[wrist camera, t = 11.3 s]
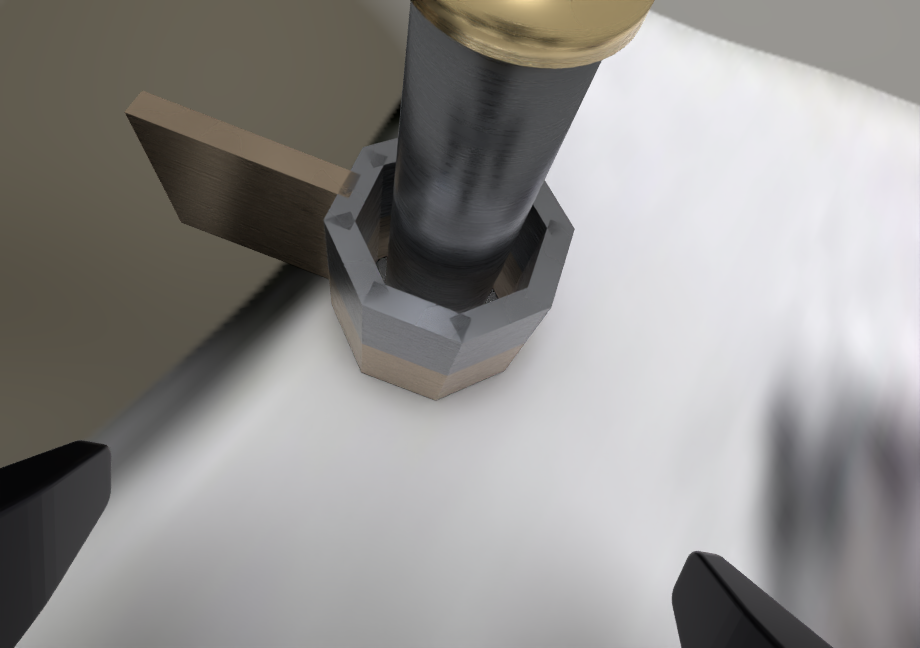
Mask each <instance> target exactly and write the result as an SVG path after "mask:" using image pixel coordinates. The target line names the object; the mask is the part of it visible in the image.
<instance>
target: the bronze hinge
mask: <svg viewBox="0 0 920 648" xmlns="http://www.w3.org/2000/svg"><path fill="white" fill-rule="evenodd" d="M125 114H126V116H127V118H128V120H129V122H130V124H131V126H132V128H133V130H134V132H135V134H136V135H137V137H138V139H139V141H140V143H141V145H142V147H143V149H144V151H145V153H146V155H147V157H148V159H149V161H150V163H151V164H152V167H153V169H154V171H155V172H156V174H157V176H158V178H159V180H160V182H161V184H162V186H163V188H164V190H165V192H166V194H167V196H168V198H169V200H170V202H171V203H172V206H173V207H174V209H175V211H176V213H177V215H178V217H179V219H180V221H181V222H182V223H184V224H187V225H189V226H192V227H195V228H197V229H200V230H202V231H205V232H208V233H210V234H213V235H216V236H218V237H221V238H224V239H226V240H229V241H231V242H234V243H237V244H239V245H242V246H244V247H247V248H250V249H252V250H255V251H257V252H260V253H263V254H265V255H268V256H270V257H273V258H276V259H278V260H281V261H283V262H286V263H289V264H291V265H294V266H297V267H299V268H302V269H304V270H307V271H310V272H312V273H315V274H317V275H320V276H323V277H325V278H328V279H329V280H330V290H331V300H332V306H333V308H334V311H335V313H336V315H337V317H338V320H339V322H340V324H341V327H342V329H343V331H344V333H345V336H346V338H347V340H348V343H349V345H350V347H351V349H352V352H353V354H354V356H355V359H356V361H357V363H358V365H359V368H360V370H361V372H362V373H365V374H367V375H370V376H373V377H375V378H378V379H381V380H383V381H386V382H388V383H391V384H394V385H396V386H399V387H402V388H404V389H407V390H409V391H412V392H415V393H417V394H420V395H423V396H425V397H428V398H430V399H433V400H438V399H440V398H443V397H445V396H447V395H450V394H452V393H454V392H457V391H459V390H461V389H463V388H466V387H468V386H470V385H473V384H475V383H477V382H480V381H482V380H484V379H487V378H489V377H491V376H494V375H496V374H498V373H500V372H503V371H505V369H506V368H507V366H508V365H509V364H510V362H511V361H512V360H513V358H514V357H515V356H516V354H517V353H518V352H519V350H520V349H521V348H522V346H523V345H524V343H525V342H526V341H527V339H528V338H529V337H530V335H531V334H532V333H533V331H534V330H535V329H536V327H537V326H538V325H539V323H540V322H541V321H542V319H543V318H544V316H545V315H546V314H547V312H548V311H549V310H550V308H551V306H552V303H553V299H554V296H555V293H556V289H557V286H558V283H559V279H560V276H561V273H562V269H563V266H564V263H565V259H566V256H567V253H568V249H569V246H570V243H571V239H572V236H573V233H574V230H575V229H574V227H573V226H572V224H571V222H570V221H569V219H568V217H567V216H566V214H565V213H564V211H563V209H562V208H561V206H560V204H559V203H558V201H557V199H556V198H555V196H554V195H553V193H552V191H551V190H550V188H549V186H548V185H547V183H546V182H545V180H544V182H543V184H542V186H541V188H540V190H539V192H538V194H537V197H536V199H535V201H534V203H533V205H532V207H531V209H530V211H529V213H528V215H527V217H526V219H525V222H524V224H523V226H522V228H521V230H520V232H519V234H518V236H517V238H516V240H515V242H514V245H513V247H512V249H511V251H510V253H509V255H508V257H507V259H506V261H505V263H504V265H503V267H502V270H501V272H500V274H499V276H498V278H497V280H496V282H495V284H494V286H493V289H494V291H495V293H496V295H497V296H498V298H499V299H497V300H494V301H491V302H489V303H486V304H484V305H481V306H479V307H476V308H473V309H471V310H468V311H466V312H463V313H457V312H455V311H452V310H449V309H447V308H444V307H442V306H439V305H436V304H434V303H431V302H429V301H426V300H423V299H421V298H418V297H415V296H413V295H410V294H408V293H405V292H402V291H400V290H397V289H395V288H392V287H389V286H387V285H385V283H384V281H383V279H382V277H381V275H380V273H379V270H378V268H377V266H376V262H377V260H378V259H380V258H383V257H386V256H387V254H388V243H389V232H390V221H391V210H392V200H393V189H394V178H395V167H396V156H397V145H398V138H396V139H392V140H389V141H385V142H381V143H377V144H374V145H370V146H366V147H363V148H362V150H361V152H360V154H359V156H358V158H357V159H356V161H355V163H354V165H353V167H352V169H351V170H347V169H344V168H342V167H339V166H336V165H334V164H331V163H329V162H326V161H324V160H321V159H319V158H316V157H313V156H311V155H308V154H305V153H303V152H300V151H298V150H295V149H292V148H290V147H287V146H285V145H282V144H280V143H277V142H274V141H272V140H269V139H267V138H264V137H261V136H259V135H256V134H254V133H251V132H248V131H246V130H243V129H241V128H238V127H235V126H233V125H230V124H228V123H225V122H222V121H220V120H217V119H215V118H212V117H210V116H207V115H204V114H202V113H199V112H196V111H194V110H191V109H189V108H186V107H184V106H181V105H178V104H176V103H173V102H171V101H168V100H165V99H163V98H160V97H158V96H155V95H152V94H150V93H147V92H145V91H141V93H140V94H139V95H138V96H137V98H136V99H135V100H134V101H133V103H132V104H131V105H130V106H129V107H128V108H127V110H126V111H125Z"/></svg>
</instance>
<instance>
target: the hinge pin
mask: <svg viewBox="0 0 920 648" xmlns="http://www.w3.org/2000/svg"><path fill="white" fill-rule="evenodd" d="M410 1H411V3H410V14H409V25H408V36H407V47H406V57H405V68H404V79H403V80H404V81H403V90H402V101H401V112H400V123H399V134H398V145H397V156H396V167H395V178H394V189H393V200H392V210H391V221H390V232H389V243H388V254H387V265H386V276H385V285H387V286H389V287H392V288H395V289H397V290H400V291H402V292H405V293H408V294H410V295H413V296H415V297H418V298H421V299H423V300H426V301H429V302H431V303H434V304H436V305H439V306H442V307H444V308H447V309H449V310H452V311H455V312H457V313H463V312H466V311H468V310H471V309H473V308H476V307H479V306H481V305H484V304H485V303H486V301H487V299H488V297H489V295H490V293H491V290H492V288H493V286H494V284H495V282H496V280H497V278H498V276H499V274H500V272H501V270H502V267H503V265H504V263H505V261H506V259H507V257H508V255H509V253H510V251H511V249H512V247H513V245H514V242H515V240H516V238H517V236H518V234H519V232H520V230H521V228H522V226H523V224H524V222H525V219H526V217H527V215H528V213H529V211H530V209H531V207H532V205H533V203H534V201H535V199H536V197H537V194H538V192H539V190H540V188H541V186H542V184H543V182H544V180H545V178H546V176H547V174H548V171H549V169H550V167H551V165H552V163H553V161H554V159H555V157H556V155H557V153H558V151H559V148H560V146H561V144H562V142H563V140H564V138H565V136H566V134H567V132H568V130H569V128H570V126H571V123H572V121H573V119H574V117H575V115H576V113H577V111H578V109H579V107H580V105H581V103H582V100H583V98H584V96H585V94H586V92H587V90H588V88H589V86H590V84H591V82H592V80H593V78H594V75H595V73H596V71H597V69H598V67H599V65H600V63H601V61H602V60H603V59H605V58H607V57H609V56H612V55H614V54H615V53H617V52H618V51H620V50H621V49H622V48H624V47H625V46H626V45H627V44H628V43H629V42H630V41H631V40H632V39H633V38H634V37H635V35H636V34H637V32H638V31H639V29H640V27H641V25H642V23H643V22H644V20H645V18H646V16H647V14H648V12H649V10H650V8H651V6H652V4H653V2H654V0H410Z"/></svg>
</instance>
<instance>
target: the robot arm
mask: <svg viewBox="0 0 920 648" xmlns="http://www.w3.org/2000/svg"><path fill="white" fill-rule="evenodd" d="M111 457H112V456H111V450H110V448H109V447H108V446H107V445H105V444H101V443H95V442H90V441H84V440H78V441H74V442H72V443H69V444H66V445H63V446H61V447H58V448H55V449H52V450H49V451H46V452H44V453H41V454H38V455H35V456H33V457H30V458H27V459H24V460H21V461H19V462H16V463H13V464H10V465H8V466H5V467H2V468H0V648H14V647H15V646H16V644H17V643H18V642H19V640H20V639H21V638H22V636H23V635H24V634H25V632H26V631H27V630H28V628H29V627H30V626H31V624H32V623H33V622H34V620H35V619H36V618H37V616H38V615H39V614H40V612H41V611H42V609H43V608H44V607H45V605H46V604H47V602H48V601H49V599H50V598H51V596H52V594H53V593H54V591H55V590H56V588H57V587H58V585H59V583H60V582H61V580H62V578H63V577H64V575H65V574H66V572H67V570H68V569H69V567H70V565H71V564H72V562H73V560H74V559H75V557H76V556H77V554H78V552H79V551H80V549H81V547H82V546H83V544H84V542H85V541H86V539H87V538H88V536H89V534H90V533H91V531H92V529H93V528H94V526H95V524H96V523H97V521H98V519H99V518H100V516H101V515H102V513H103V511H104V510H105V508H106V506H107V504H108V501H109V498H110V494H111ZM672 606H673V611H674V615H675V620H676V625H677V629H678V634H679V639H680V643H681V648H833V647H832V646H830V645H829V644H828V643H827V642H825V641H824V640H823V639H822V638H821V637H819V636H818V635H817V634H816V633H814V632H813V631H812V630H811V629H810V628H808V627H807V626H806V625H805V624H803V623H802V622H801V621H800V620H798V619H797V618H796V617H795V616H794V615H792V614H791V613H790V612H789V611H787V610H786V609H785V608H784V607H783V606H781V605H780V604H779V603H778V602H776V601H775V600H774V599H773V598H772V597H770V596H769V595H768V594H767V593H765V592H764V591H763V590H762V589H761V588H759V587H758V586H757V585H756V584H754V583H753V582H752V581H751V580H750V579H748V578H747V577H746V576H745V575H743V574H742V573H741V572H740V571H739V570H737V569H736V568H735V567H734V566H732V565H731V564H730V563H729V562H727V561H726V560H725V559H724V558H723V557H721V556H719V555H717V554H712V553H707V552H701V551H694V552H692V553H691V554H690V555H689V556H688V558H687V560H686V562H685V564H684V566H683V569H682V571H681V573H680V575H679V577H678V579H677V582H676V584H675V586H674V589H673V593H672Z"/></svg>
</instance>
